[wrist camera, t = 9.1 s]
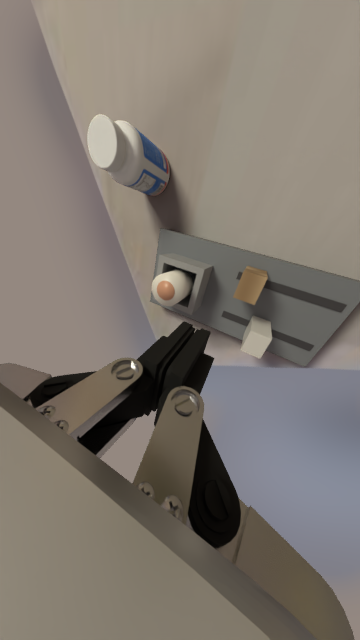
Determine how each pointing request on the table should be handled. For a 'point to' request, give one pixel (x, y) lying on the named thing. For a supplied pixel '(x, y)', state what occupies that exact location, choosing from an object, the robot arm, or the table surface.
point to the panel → (273, 302)
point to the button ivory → (172, 287)
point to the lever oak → (251, 284)
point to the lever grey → (256, 337)
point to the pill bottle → (127, 155)
